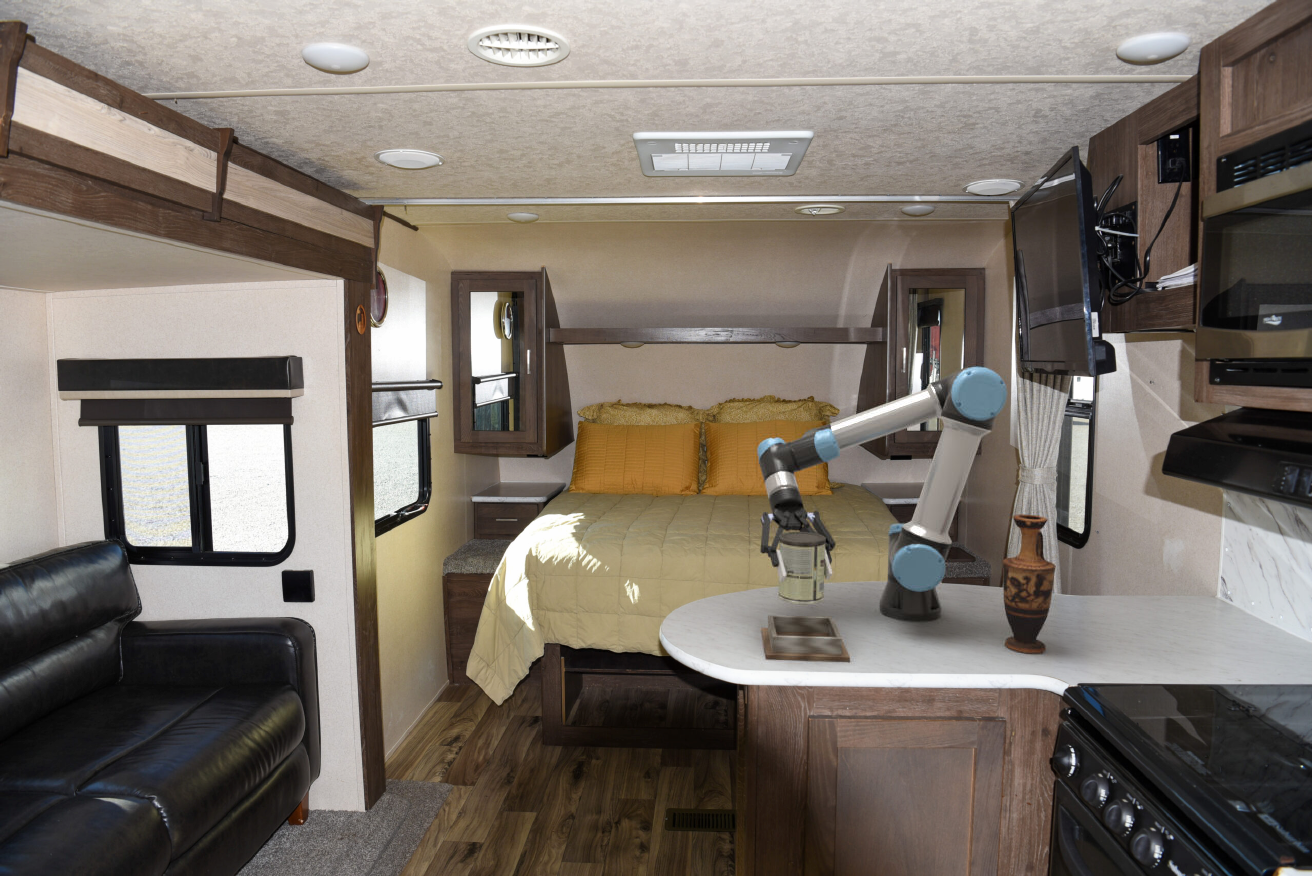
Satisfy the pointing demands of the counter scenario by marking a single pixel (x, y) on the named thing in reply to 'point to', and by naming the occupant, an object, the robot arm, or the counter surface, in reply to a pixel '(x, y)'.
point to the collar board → (803, 639)
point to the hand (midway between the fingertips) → (806, 577)
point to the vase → (1027, 587)
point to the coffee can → (802, 567)
